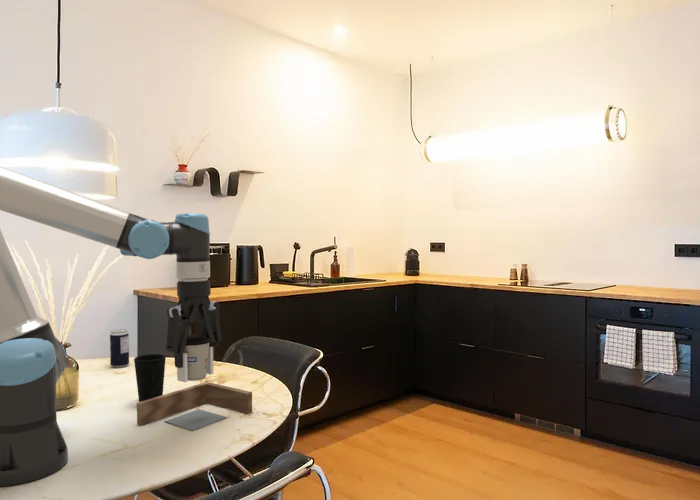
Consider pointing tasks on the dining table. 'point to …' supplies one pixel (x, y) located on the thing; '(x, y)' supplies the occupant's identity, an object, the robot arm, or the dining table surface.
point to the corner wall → (193, 401)
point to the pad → (195, 419)
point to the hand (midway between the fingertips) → (195, 376)
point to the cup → (150, 375)
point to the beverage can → (119, 348)
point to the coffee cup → (197, 356)
